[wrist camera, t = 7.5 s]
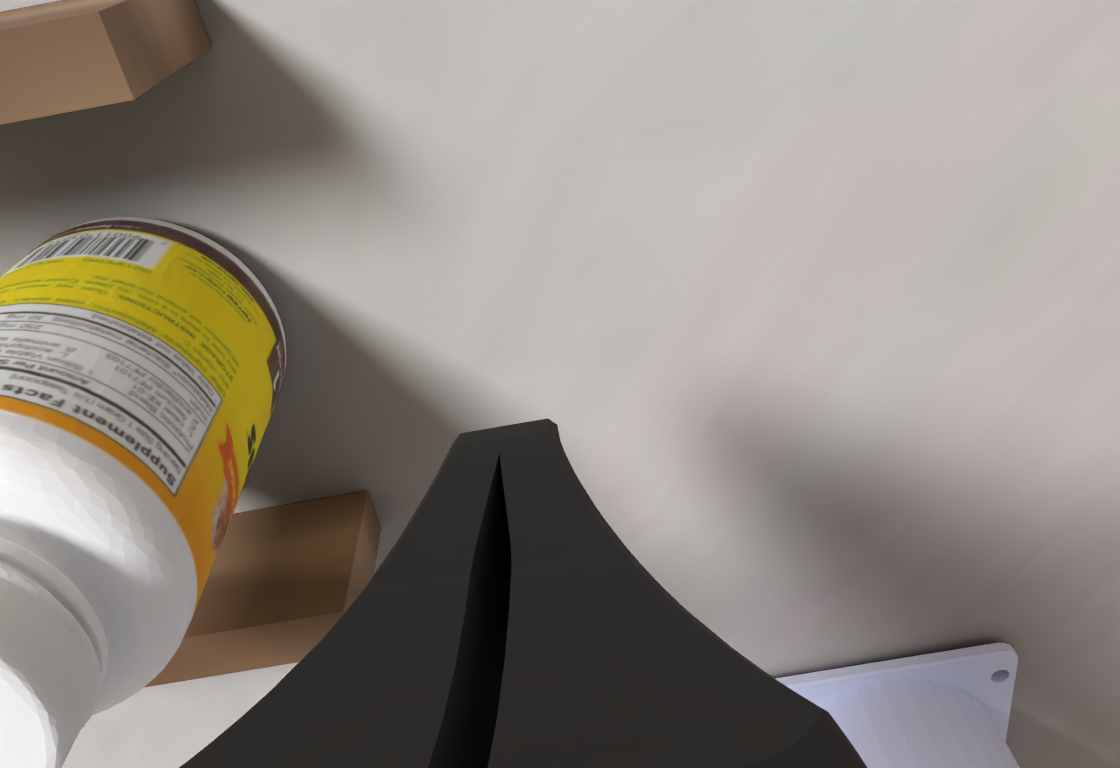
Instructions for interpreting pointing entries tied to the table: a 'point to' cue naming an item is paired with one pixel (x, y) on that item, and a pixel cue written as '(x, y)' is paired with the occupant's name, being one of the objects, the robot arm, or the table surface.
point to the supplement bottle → (118, 460)
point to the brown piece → (251, 537)
